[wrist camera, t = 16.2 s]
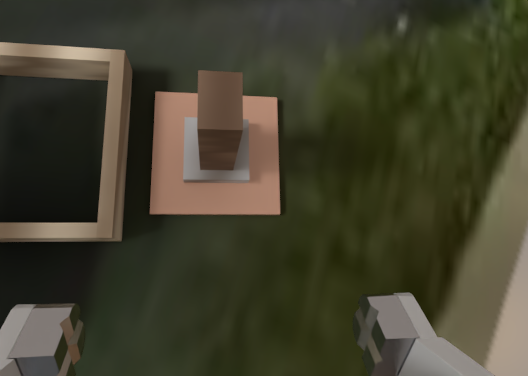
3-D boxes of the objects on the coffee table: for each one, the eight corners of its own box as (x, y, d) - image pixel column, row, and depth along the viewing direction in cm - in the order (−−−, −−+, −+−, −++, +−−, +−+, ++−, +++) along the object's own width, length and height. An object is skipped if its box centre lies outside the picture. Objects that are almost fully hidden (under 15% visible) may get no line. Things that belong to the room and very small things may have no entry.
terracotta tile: (150, 214, 29) (149, 213, 29) (156, 94, 31) (155, 91, 31) (279, 215, 30) (280, 214, 30) (275, 100, 33) (277, 97, 32)
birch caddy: (-90, 242, 26) (-126, 238, 23) (-56, 60, 29) (-85, 36, 26) (121, 241, 28) (111, 237, 25) (132, 70, 31) (124, 50, 28)
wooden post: (183, 182, 29) (173, 141, 20) (185, 121, 31) (175, 56, 21) (248, 183, 30) (265, 143, 21) (247, 124, 31) (263, 62, 22)
